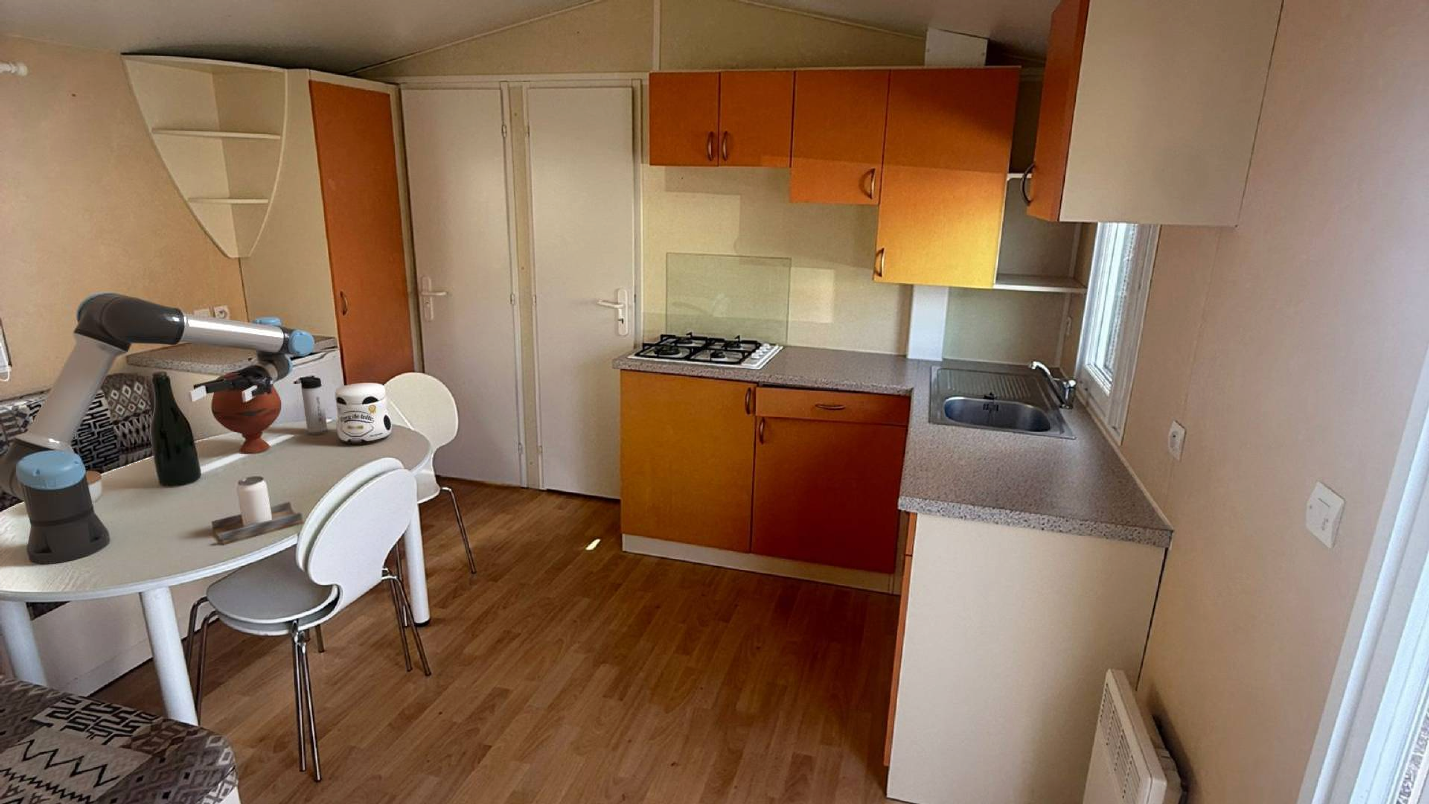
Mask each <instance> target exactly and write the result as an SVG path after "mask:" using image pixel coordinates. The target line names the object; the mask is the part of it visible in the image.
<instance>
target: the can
mask: <svg viewBox="0 0 1429 804" xmlns="http://www.w3.org/2000/svg"><path fill="white" fill-rule="evenodd" d="M237 484H238V485H237V487H236V491H237V497H238V504H239V509H240V514H241V516H242V521H243V525H244V526H245V527H246V526H250V525H254V524H258V523H261V522H265V521H269V520H272V515H271V509H270V506H271V504H270V498H269V491H268V485H267V483H266V481H265V480H264V477H263V476H260V475H259V476H258V475H257V476H256V475H255V476H254V475H253V476H249V477H244V478H242V479H240V480H238V482H237Z"/></svg>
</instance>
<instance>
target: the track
mask: <svg viewBox="0 0 1429 804" xmlns="http://www.w3.org/2000/svg"><path fill="white" fill-rule="evenodd" d="M291 505H292V504H291V502H290V501H288V502H283V503H279V504H275V505H270V509H271V515H272V520H269V521H265V522H261V523H258V524H254V525H250V526H246V527H245V526H244V525H243V521H242V516H241V513H239V514H235V515H232V516H228V517H224V518H223V517H222V518H219V519H215V520H212V521H211V525H212V531H213V533H214V534H215V535H216V536H217V538H218V539H219V541H220V542H221V543H222V545H223V546H226V545H229V544H232V543H236V542H240V541H244V540H248V539H250V538H254V537H257V536H261V535H265V534H269V533H273V532H276V531H280V530H284V529H287V528H290V527H294V526H298V525H302V524H304V520H303V515H302V514H303V513H302V512H295V511H294V510H293V509H292V506H291Z"/></svg>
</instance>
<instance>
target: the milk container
mask: <svg viewBox="0 0 1429 804" xmlns="http://www.w3.org/2000/svg"><path fill="white" fill-rule="evenodd" d="M334 394H335V396H334V399H335V402H336V404H335V405H336V410H337V419H336V420H337V421H336V432H337V436H338V438H339V440H342V441H343V442H344V443H347V444H348V443H349V444H368V443H374V442H379V441H381V440H383V439H386V438H387V437H389V436H391V433H392V429H393V421H392V417H391V416H390V413H389V410H388V409H389V408H388V401H387V391H386V388H385V386H384V385H383V384H381V383H375V382H361V383H351V384H347V385H343V386H340V387H338V388H336V390H335V392H334Z"/></svg>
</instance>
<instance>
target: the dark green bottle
mask: <svg viewBox="0 0 1429 804" xmlns="http://www.w3.org/2000/svg"><path fill="white" fill-rule="evenodd" d="M150 379H151V380H150V382H151V386H152V390H153V396H154V397H153V398H154V408H153V413H152V417H151V421H150V424H149V425H150V426H149V436H150V438H149V439H150V444H151V449H152V455H153V456H152V457H153V460H154V461H153V462H154V466H155V467H154V468H155V471H156V476H157V480H158V483H159V484H160V486H164V487H179V486H185V485H189V484H192V483H194V482H196V481H198V480H199V479H201V477H202V469H201V466H200V465H201V464H200V460H199V455H198V450H197V446H196V441H195V436H194V433H193V429H192V426H191V424H190V422H189V420H188V418H187V417H186V415H185V414H184V413H183V411H182V410H181V408H180V407H179V406H178V405H179V404H177V403H178V402H177V401H176V399H175V396H174V392H173V388H172V384H171V381H172V380H171V378H170V376H169V375H168V373H167V371H155V372H152V377H151V378H150Z"/></svg>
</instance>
